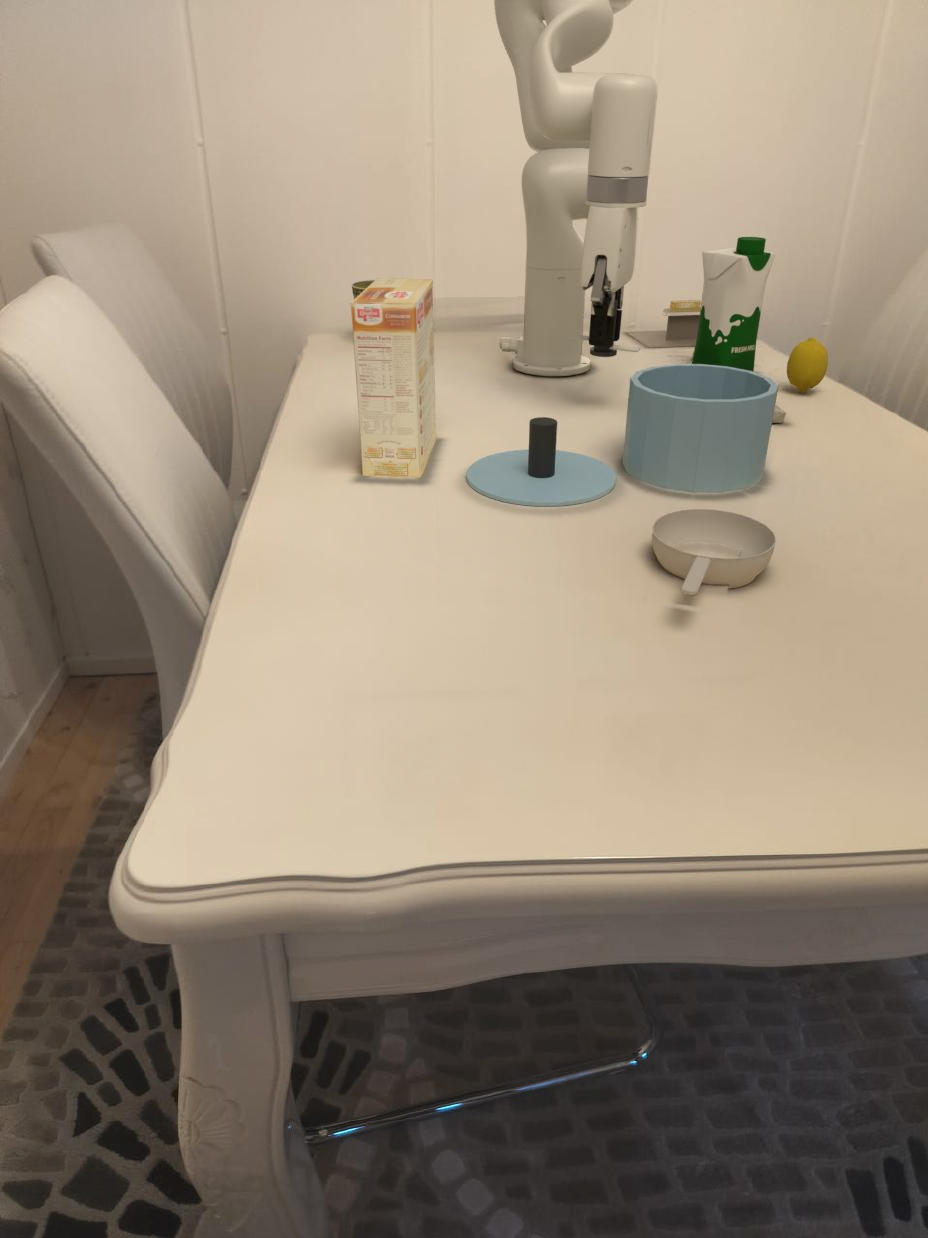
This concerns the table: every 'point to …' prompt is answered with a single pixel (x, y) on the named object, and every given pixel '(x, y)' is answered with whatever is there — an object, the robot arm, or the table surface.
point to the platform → (675, 327)
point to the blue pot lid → (541, 472)
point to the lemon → (807, 364)
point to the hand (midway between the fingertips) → (604, 341)
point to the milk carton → (732, 304)
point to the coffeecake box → (395, 375)
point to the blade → (606, 351)
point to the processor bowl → (698, 427)
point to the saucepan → (720, 530)
